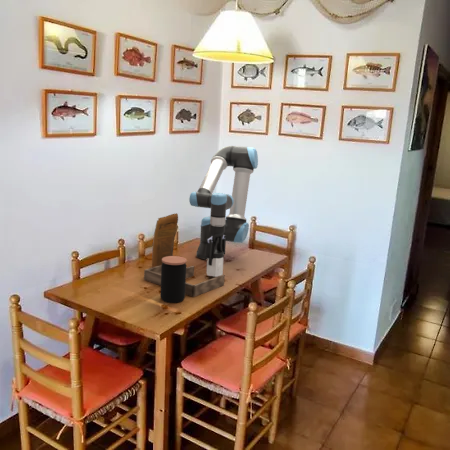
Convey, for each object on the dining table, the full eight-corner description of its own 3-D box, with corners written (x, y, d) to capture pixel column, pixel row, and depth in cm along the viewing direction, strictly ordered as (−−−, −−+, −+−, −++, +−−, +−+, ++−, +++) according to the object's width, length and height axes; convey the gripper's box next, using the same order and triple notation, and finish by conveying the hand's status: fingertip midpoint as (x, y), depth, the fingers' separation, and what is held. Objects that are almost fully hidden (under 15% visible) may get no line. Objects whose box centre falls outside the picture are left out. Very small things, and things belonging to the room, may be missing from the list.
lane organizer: (175, 270, 242) (176, 260, 241) (224, 285, 224) (224, 275, 223) (143, 279, 224) (144, 269, 223) (193, 297, 206) (194, 286, 205)
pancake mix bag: (180, 263, 253) (182, 213, 247) (155, 271, 238) (157, 218, 232) (171, 261, 257) (173, 211, 251) (146, 268, 242) (147, 215, 236)
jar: (211, 277, 228) (212, 254, 226) (202, 273, 234) (203, 250, 232) (226, 275, 233) (227, 252, 231) (217, 271, 240) (218, 248, 237)
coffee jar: (189, 299, 203) (191, 260, 199) (171, 305, 195) (173, 264, 191) (173, 292, 210) (175, 254, 206) (155, 298, 202) (156, 258, 198)
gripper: (222, 221, 238) (220, 264, 243) (199, 226, 223) (197, 272, 228) (234, 223, 233) (231, 267, 238) (211, 228, 219) (209, 275, 224)
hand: (214, 269), depth 233 cm, fingers closed on jar, 5 cm apart
